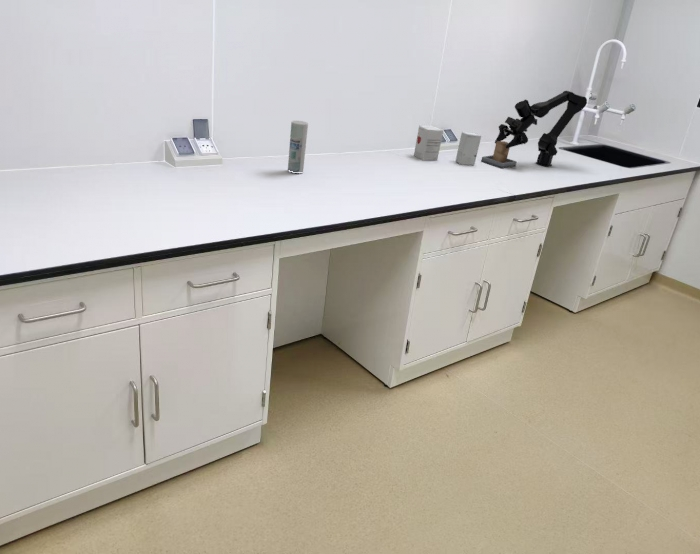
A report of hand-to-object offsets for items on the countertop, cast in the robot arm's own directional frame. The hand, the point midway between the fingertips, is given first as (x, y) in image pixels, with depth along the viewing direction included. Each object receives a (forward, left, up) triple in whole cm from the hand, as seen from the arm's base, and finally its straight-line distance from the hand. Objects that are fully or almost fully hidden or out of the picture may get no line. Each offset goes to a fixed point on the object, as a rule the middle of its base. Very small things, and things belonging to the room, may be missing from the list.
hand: (500, 145), depth 292 cm
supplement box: (+21, +32, -10) cm, 39 cm away
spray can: (+23, +112, -10) cm, 114 cm away
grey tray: (0, -1, -10) cm, 10 cm away
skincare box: (+7, +18, -10) cm, 21 cm away
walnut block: (0, -1, -9) cm, 9 cm away
